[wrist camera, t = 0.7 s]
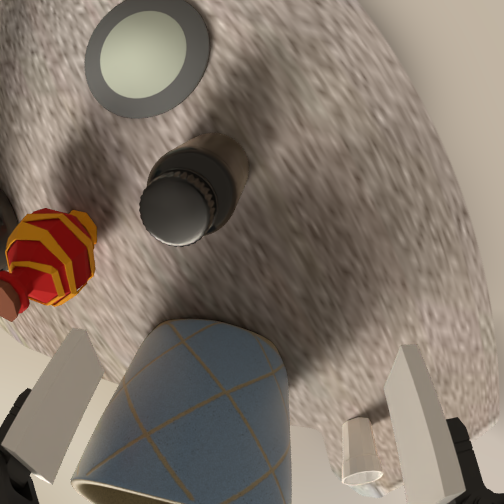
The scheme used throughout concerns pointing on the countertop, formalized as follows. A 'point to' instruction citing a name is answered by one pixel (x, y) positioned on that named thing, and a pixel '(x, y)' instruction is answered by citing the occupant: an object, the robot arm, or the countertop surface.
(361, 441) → the cup
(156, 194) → the supplement bottle
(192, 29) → the plate
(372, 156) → the countertop surface
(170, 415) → the planter
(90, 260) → the potion bottle
